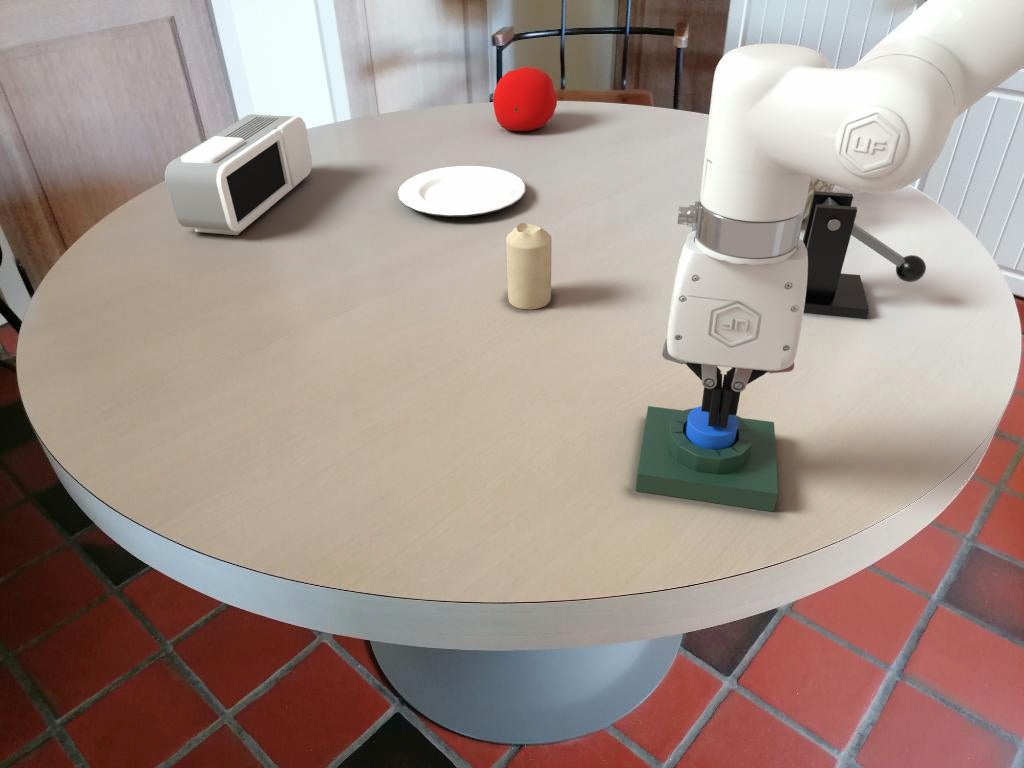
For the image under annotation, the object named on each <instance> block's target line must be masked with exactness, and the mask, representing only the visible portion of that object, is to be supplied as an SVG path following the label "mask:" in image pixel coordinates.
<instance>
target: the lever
mask: <svg viewBox="0 0 1024 768" xmlns="http://www.w3.org/2000/svg"><path fill="white" fill-rule="evenodd" d="M822 205H835V206H841V205H840V204H838V203H837V202H835V201H834V200H832V199H831V198H829V197H828V198H827V199H826V201H825V202H824V203H823V204H822ZM851 236H852V237H853V238H855V239H856V240H858V241H859V242H861V243H862V244H864V245H865V246H867V247H868V248H870V249H871V250H873V251H874V252H876V253H877V254H879V255H880V256H881V257H883V258H884V259H886V260H887V261H889V262H890V263H892V264H893V265H895V273H896V275H897V277H898V278H899V279H900V280H901V281H903V282H906V283H914V282H917V281H919V280H921V279H922V277H924V275H925V274H926V271H927V265H926V262H925V260H924V259H923V258H922V257H920V256H918V255H913V254H911V255H910V254H909V255H905V256H903V255H901V254H900V253H899V252H897V251H895V250H894V249H892V248H891V247H890V246H888V245H886V244H885V243H883V242H882V241H881V240H879V239H878V238H876V237H875V236H873V235H872V234H871V233H869V232H868V231H866V230H865V229H863V228H862V227H861V226H859V225H857V224H856V223H854V225H853V229H852V233H851Z"/></svg>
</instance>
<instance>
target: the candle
mask: <svg viewBox="0 0 1024 768" xmlns="http://www.w3.org/2000/svg"><path fill="white" fill-rule="evenodd" d="M552 238H553V237H552V235H551V234H550V233H549V232H548V231H547V230H545V229H544V228H543V227H540V226H536V225H534V224H532V223H525V222H520V223H518V224H517V225H516V227H514V228H513V230H512V231H510V232H509V233H508V234H507V236H506V240H505V243H506V275H507V277H506V279H507V299H508V302H509V304H510V305H512V307H515V308H517V309H520V310H536V309H541V308H544V307H546V306H548V305H549V303H550V302H551V299H552V248H553V247H552V246H553V245H552V242H553V241H552Z"/></svg>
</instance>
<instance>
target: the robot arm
mask: <svg viewBox="0 0 1024 768" xmlns="http://www.w3.org/2000/svg"><path fill="white" fill-rule="evenodd" d="M1023 69H1024V0H926V1H924V3H922V4H921V5H920V7H918V8H917V9H916V10H915V11H914V12H913V13H911V14H910V15H909V16H908V17H907V18H905V20H903V21H901V23H900V24H899V25H898V26H896V27H895V28H894V29H893V30H892V31H891V32H890V33H888V34H887V35H886V36H885V37H884V38H882V39H881V41H879V42H878V43H877V44H876V45H874V47H873V48H872V49H870V50H868V52H867V53H866V54H865V55H864V56H863V57H862V58H860V60H859V61H858V62H857V63H856V64H855V65H853V66H849V67H847V68H831V64H830V62H829V60H828V59H827V57H826V56H825V55H824V54H823V53H821V51H818V50H815V49H813V48H810V47H807V46H803V45H799V44H798V45H797V44H791V43H790V44H788V43H753V44H748V45H743V46H739V47H736V48H734V49H731V50H730V51H728V52H727V53H725V54H724V55H723V56H722V57H721V59H720V60H719V61H718V63H717V65H716V67H715V71H714V74H713V81H712V88H711V97H710V104H709V105H710V106H709V115H708V123H707V130H706V131H707V132H706V133H707V134H706V140H705V148H704V158H703V168H702V175H701V176H702V177H701V183H700V193H699V201H695V202H694V204H693V205H691V204H690V205H689V206H679V207H678V215H677V225H685V226H687V227H691V232H689V233H688V234H687V236H686V240H685V241H684V244H683V247H682V250H681V253H680V256H679V259H678V264H677V267H676V274H675V277H674V282H673V287H672V295H671V301H670V307H669V315H668V320H667V321H668V322H667V334H666V339H665V340H664V344H663V346H662V347H663V348H662V354H661V356H662V358H663V359H664V360H667V361H671V362H674V363H676V364H680V365H686V366H687V367H688V368H689V370H691V372H693V374H694V375H696V377H697V378H698V379H700V381H701V385H702V386H703V393H702V399H701V406H702V409H701V411H702V412H709V417H708V426H713V427H714V425H717V419H718V413H719V421H718V426H721V428H727V423H728V417H729V415H738V410H739V409H738V408H739V403H740V397H741V393H742V392H743V391H744V390H746V388H747V385H749V384H751V383H752V382H754V381H756V380H758V379H759V378H761V377H763V376H765V374H767V373H768V374H779V373H780V374H781V373H789V372H792V371H793V370H794V369H795V360H796V356H797V352H798V348H799V343H800V336H801V332H802V331H801V330H802V325H803V320H804V319H803V318H804V314H805V313H804V305H805V297H806V288H807V275H808V254H807V249H806V247H805V244H804V242H803V239H801V238H800V235H801V230H802V226H803V220H804V219H803V216H804V211H805V205H806V200H807V195H808V190H809V185H810V180H811V177H813V178H816V179H819V180H821V181H824V182H827V183H830V184H833V185H835V186H836V187H840V188H842V189H845V190H849V191H853V192H857V193H866V194H883V193H890V192H894V191H898V190H901V189H904V188H906V187H908V186H910V185H911V184H914V183H915V182H917V181H918V180H920V179H921V178H923V176H924V175H926V174H927V173H928V171H929V170H930V169H932V167H933V166H934V165H935V163H936V162H937V161H938V159H939V157H940V156H941V154H942V152H943V150H944V148H945V145H946V143H947V140H948V138H949V135H950V134H951V133H950V132H951V130H952V127H953V124H954V122H955V120H956V119H957V118H958V117H959V116H961V115H962V114H963V113H965V112H966V111H967V110H968V109H969V108H971V107H972V106H974V105H975V104H976V103H977V102H979V101H980V100H981V99H983V98H984V97H986V96H987V95H988V94H990V93H991V92H993V90H995V89H997V88H998V87H999V86H1001V85H1002V84H1003V83H1004V82H1006V81H1007V80H1008V79H1011V77H1013V76H1014V75H1015V74H1017V73H1018V72H1020V70H1023ZM719 367H725V368H731V369H728V370H727V371H726V373H725V374H723V373H722V369H720V368H719Z"/></svg>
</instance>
